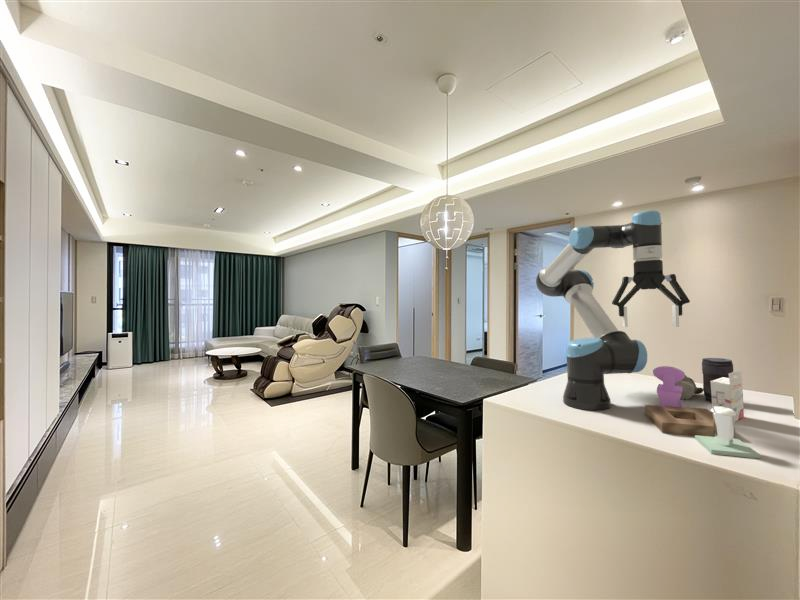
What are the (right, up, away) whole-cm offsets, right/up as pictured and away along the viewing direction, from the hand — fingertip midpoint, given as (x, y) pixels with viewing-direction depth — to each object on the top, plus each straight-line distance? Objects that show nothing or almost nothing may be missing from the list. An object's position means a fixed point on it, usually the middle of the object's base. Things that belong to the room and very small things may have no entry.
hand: (650, 326), depth 109 cm
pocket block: (+4, -29, -9) cm, 30 cm away
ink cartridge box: (+21, -28, -4) cm, 35 cm away
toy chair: (+11, -29, +5) cm, 31 cm away
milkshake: (+1, -28, -23) cm, 36 cm away
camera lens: (+32, -28, +11) cm, 44 cm away
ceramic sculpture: (+27, -28, +19) cm, 43 cm away
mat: (+2, -29, -24) cm, 37 cm away
